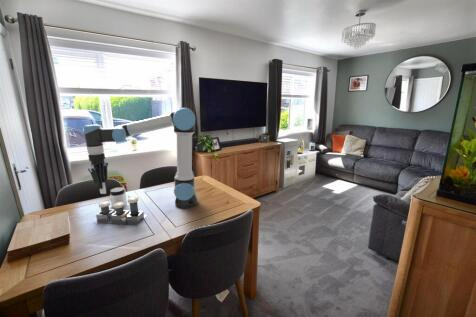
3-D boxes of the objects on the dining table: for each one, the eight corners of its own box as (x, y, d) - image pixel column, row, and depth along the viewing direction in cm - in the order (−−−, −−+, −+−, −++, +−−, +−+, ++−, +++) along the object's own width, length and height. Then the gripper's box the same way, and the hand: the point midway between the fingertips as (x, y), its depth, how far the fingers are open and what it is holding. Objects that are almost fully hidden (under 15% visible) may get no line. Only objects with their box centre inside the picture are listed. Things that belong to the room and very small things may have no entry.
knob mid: (128, 216, 132) (126, 202, 130) (122, 221, 127) (120, 206, 125) (119, 216, 133) (117, 201, 131) (113, 220, 127) (111, 206, 125)
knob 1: (113, 215, 133) (111, 201, 131) (107, 220, 128) (105, 205, 125) (105, 215, 134) (102, 201, 131) (98, 219, 128) (96, 205, 126)
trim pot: (128, 221, 128) (127, 213, 126) (125, 224, 124) (124, 215, 123) (123, 220, 128) (122, 212, 127) (120, 223, 125) (119, 215, 123)
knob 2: (141, 211, 131) (140, 197, 128) (136, 216, 125) (134, 201, 123) (132, 211, 131) (131, 196, 129) (127, 215, 126) (125, 200, 123)
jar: (112, 210, 142) (109, 193, 139) (111, 205, 149) (108, 189, 146) (127, 207, 147) (125, 190, 144) (126, 202, 153) (123, 186, 150)
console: (147, 216, 135) (146, 209, 134) (136, 227, 123) (135, 219, 122) (107, 214, 137) (106, 207, 136) (93, 224, 126) (91, 216, 124)
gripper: (98, 150, 128) (104, 188, 134) (80, 156, 115) (88, 197, 121) (110, 150, 127) (116, 189, 133) (94, 156, 114) (101, 198, 120)
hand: (103, 193), depth 127 cm, fingers closed
